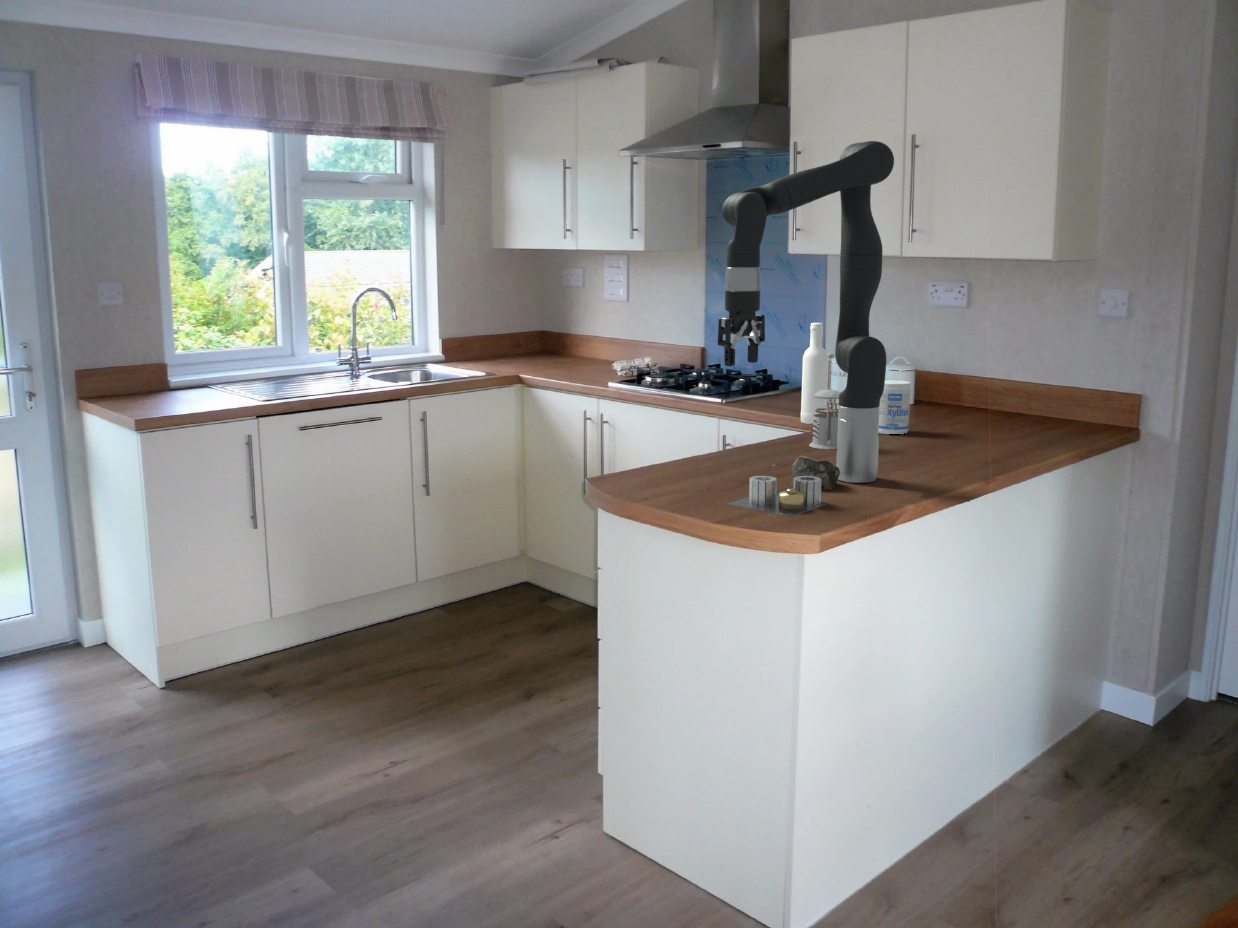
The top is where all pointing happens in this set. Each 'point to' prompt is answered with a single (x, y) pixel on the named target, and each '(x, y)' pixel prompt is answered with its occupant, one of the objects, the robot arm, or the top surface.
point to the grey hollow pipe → (809, 489)
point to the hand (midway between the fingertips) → (741, 364)
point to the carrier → (781, 504)
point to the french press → (826, 419)
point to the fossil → (816, 471)
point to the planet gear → (762, 490)
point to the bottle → (814, 375)
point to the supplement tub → (894, 407)
